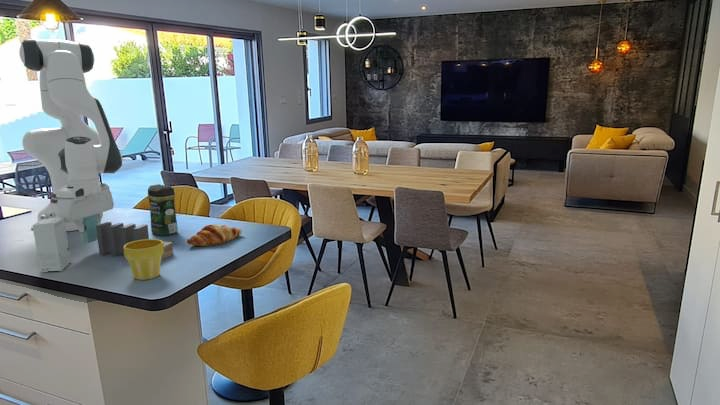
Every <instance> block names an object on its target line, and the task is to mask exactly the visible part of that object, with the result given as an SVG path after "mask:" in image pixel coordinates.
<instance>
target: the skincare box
mask: <svg viewBox="0 0 720 405" xmlns="http://www.w3.org/2000/svg"><path fill="white" fill-rule="evenodd" d="M32 226H33V229H32V230H33V237H34V241H35V243H34V244H35V247H36V248H35V249H36V254H37V261H38V266H39V272H40V273H49V272H48V271H59V272H62V271H63V270H64V269H65V268H66V267H67V266H69V265H70V264H72V259H71V252H70V247H69V246H70V245H69V239H68V235H67V231H66V227H65V220H64V217H62V218H48V219H43V220H41V221H38V220H37V222H36V223H34V224H32ZM69 263H70V264H69ZM61 270H62V271H61Z"/></svg>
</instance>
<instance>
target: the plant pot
mask: <svg viewBox="0 0 720 405" xmlns="http://www.w3.org/2000/svg"><path fill="white" fill-rule="evenodd" d="M163 242H164V241H163V240H161V239H157V238H149V239H143V240H137V241H133V242H129V243H127V244H125V245H124V247H123V248H124V254H123V256H124V255H125V258H124V259H126V260H127V262H128V264H129V267H130V269H131V273H132V275H133V277H134V279H135V280H138V281H145V280H151V279H155V278H157V277H159V275H160V270H161V264H162V263H161V262H162V260H161V257H162V254H163V253H164V245H163Z"/></svg>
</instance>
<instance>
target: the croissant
mask: <svg viewBox="0 0 720 405" xmlns="http://www.w3.org/2000/svg"><path fill="white" fill-rule="evenodd" d="M242 233H243V230H242V229H241V228H240V229H239V228H237V227H235V226H233V227H230V226H228V225H225V224H224V225H220V226H219V225H218V224H207V225H205V226H203V227H202V228H201V230H199V231H198V232H197V233H196V234H195V235H192V236H191V237H189V238H187V239H186V241H187V244H188V245H192V246H197V247H207V246H216V245H221V244H225V243H228V242H230V241H232V240H234V239H235V238H238V237H240V236H242Z"/></svg>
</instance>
